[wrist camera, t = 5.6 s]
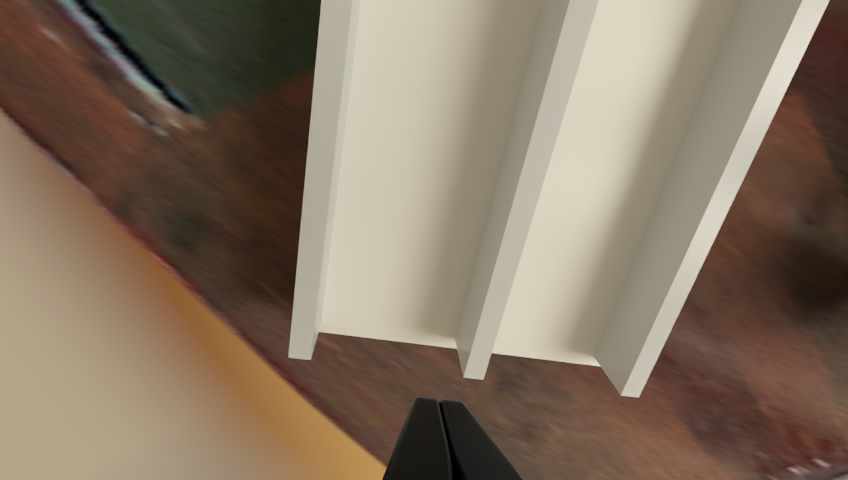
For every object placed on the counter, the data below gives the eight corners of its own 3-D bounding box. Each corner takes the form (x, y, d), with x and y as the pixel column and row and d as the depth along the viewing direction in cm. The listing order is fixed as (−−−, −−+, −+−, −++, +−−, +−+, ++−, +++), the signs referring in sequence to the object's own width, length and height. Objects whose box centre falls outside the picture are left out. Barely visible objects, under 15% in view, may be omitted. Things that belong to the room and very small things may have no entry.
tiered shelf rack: (763, -50, 14) (870, -84, 11) (596, 353, 21) (634, 407, 17) (356, -163, 13) (343, -243, 9) (305, 316, 19) (287, 368, 16)
